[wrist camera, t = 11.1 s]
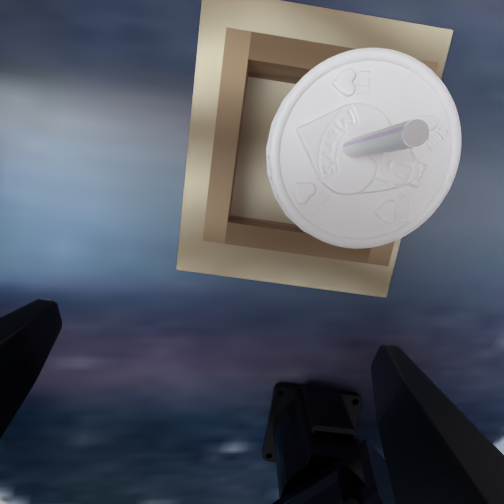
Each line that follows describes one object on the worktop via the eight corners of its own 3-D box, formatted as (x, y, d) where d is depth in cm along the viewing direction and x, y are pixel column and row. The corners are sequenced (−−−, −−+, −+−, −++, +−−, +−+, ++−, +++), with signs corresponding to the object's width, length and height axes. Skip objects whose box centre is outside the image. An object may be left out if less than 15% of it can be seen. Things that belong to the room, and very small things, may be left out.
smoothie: (280, 89, 19) (357, -112, 6) (381, 128, 20) (674, 32, 6) (243, 195, 21) (235, 241, 7) (339, 229, 21) (504, 333, 8)
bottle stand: (381, 293, 23) (407, 316, 19) (178, 266, 22) (165, 285, 19) (445, 35, 19) (491, 3, 16) (205, -6, 19) (194, -49, 15)
